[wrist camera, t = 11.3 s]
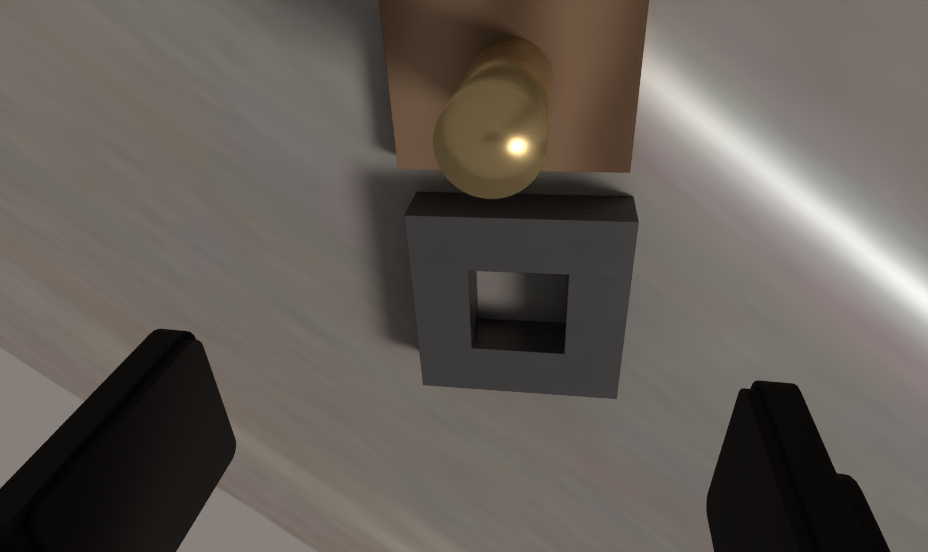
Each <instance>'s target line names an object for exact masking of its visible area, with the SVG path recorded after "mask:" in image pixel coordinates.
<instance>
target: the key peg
mask: <svg viewBox="0 0 928 552" xmlns="http://www.w3.org/2000/svg"><path fill="white" fill-rule="evenodd" d="M552 87H553V73H552V68H551V65H550V63H549V60H548V58H547V57H546V55H545V54H544V53H543V51H542V50H541V49H540V48H539V47H538V46H536V45H535V44H534V43H532V42H530V41H528V40H526V39H523V38H518V37H504V38H500V39H497V40H494V41H492V42H491V43H489V44H487V45H486V46H485V47H484V48H483V49H482V50H481V51H480V52H479V53H478V54H477V56H476V57H475V59H474V60H473V62H472V64H471V65H470V67H469V69H468V70H467V72H466V74H465V75H464V77H463V79H462V80H461V82H460V83H459V85H458V87H457V88H456V90H455V92H454V93H453V95H452V97H451V98H450V100H449V102H448V103H447V105H446V106H445V108H444V110H443V111H442V113H441V115H440V116H439V118H438V121H437V123H436V126H435V130H434V135H433V149H434V154H435V158H436V161H437V163H438V166H439V168H440V169H441V171H442V173H443V174H444V175H445V177H446V178H447V179H448V180H449V181H450V182H451V183H452V184H453V185H454V186H456V187H457V188H458V189H460V190H461V191H463V192H465V193H467V194H469V195H472V196H475V197H479V198H485V199H498V198H504V197H508V196H511V195H514V194H516V193H518V192H520V191H522V190H523V189H525V188H526V187H527V186H528V185H530V184H531V183H532V182H533V181H534V180H535V178H536V177H537V175H538V174H539V172H540V171H541V169H542V167H543V164H544V162H545V158H546V153H547V142H548V131H549V120H550V109H551V98H552Z"/></svg>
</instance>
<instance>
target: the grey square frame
mask: <svg viewBox="0 0 928 552" xmlns="http://www.w3.org/2000/svg"><path fill="white" fill-rule="evenodd" d="M404 218H405V227H406V236H407V245H408V254H409V263H410V272H411V281H412V290H413V299H414V308H415V317H416V326H417V335H418V344H419V352H420V361H421V370H422V379H423V385H430V386H444V387H458V388H472V389H485V390H499V391H513V392H527V393H541V394H555V395H569V396H583V397H596V398H610V399H617V391H618V383H619V375H620V367H621V359H622V351H623V343H624V335H625V327H626V319H627V311H628V303H629V295H630V287H631V279H632V271H633V263H634V255H635V247H636V239H637V231H638V223H639V221H638V217H637V212H636V207H635V202H634V197H626V196H579V195H532V194H514V195H511V196H508V197H504V198H498V199H485V198H479V197H475V196H472V195H469V194H467V193H438V192H416V194H415V196H414V198H413V200H412V202H411V204H410V206H409V208H408V209H407V211H406V213H405V215H404ZM476 271H494V272H518V273H542V274H567V275H568V280H567V298H566V316H565V323H550V322H532V321H513V320H495V319H478V302H477V278H476Z"/></svg>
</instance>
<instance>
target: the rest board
mask: <svg viewBox="0 0 928 552" xmlns="http://www.w3.org/2000/svg"><path fill="white" fill-rule="evenodd" d="M379 4H380V13H381V22H382V31H383V40H384V49H385V58H386V67H387V75H388V84H389V93H390V102H391V111H392V120H393V129H394V138H395V147H396V156H397V164H398V169H428V170H441V169H440V168H439V166H438V163H437V161H436V158H435V154H434V149H433V135H434V130H435V126H436V123H437V121H438V118H439V116H440V115H441V113H442V111H443V110H444V108H445V106H446V105H447V103H448V102H449V100H450V98H451V97H452V95H453V93H454V92H455V90H456V88H457V87H458V85H459V83H460V82H461V80H462V79H463V77H464V75H465V74H466V72H467V70H468V69H469V67H470V65H471V64H472V62H473V60H474V59H475V57H476V56H477V54H478V53H479V52H480V51H481V50H482V49H483V48H484V47H485V46H486V45H487V44H489V43H491V42H492V41H494V40H497V39H500V38H504V37H518V38H523V39H526V40H528V41H530V42H532V43H534V44H535V45H536V46H538V47H539V48H540V49H541V50H542V51H543V53H544V54H545V55H546V57H547V58H548V60H549V63H550V65H551V68H552V73H553V87H552V98H551V109H550V120H549V131H548V142H547V153H546V158H545V162H544V164H543V167H542V169H541V171H559V172H625V173H630V168H631V159H632V150H633V141H634V132H635V123H636V114H637V104H638V95H639V86H640V77H641V68H642V59H643V50H644V41H645V32H646V23H647V14H648V5H649V0H379Z"/></svg>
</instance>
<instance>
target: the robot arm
mask: <svg viewBox="0 0 928 552" xmlns="http://www.w3.org/2000/svg"><path fill="white" fill-rule="evenodd" d="M235 450H236V440H235V436H234V433H233V431H232V428H231V425H230V422H229V419H228V416H227V413H226V410H225V407H224V405H223V402H222V399H221V396H220V393H219V390H218V387H217V384H216V381H215V379H214V376H213V373H212V370H211V367H210V364H209V361H208V358H207V355H206V353H205V350H204V347H203V345H202V343H201V342H200V341H199V340H196V338H195V336H194V335H193V334H192V333H191V332H188V331H179V330H168V329H157V330H154V331H153V332H152V333H150V334H149V335H148V336H147V338H146V339H145V340H144V341H143V342H142V343H141V344H140V345H139V346H138V347H137V348H136V349H135V350H134V351H133V352H132V353H131V354H130V355H129V356H128V357H127V358H126V359H125V360H124V361H123V362H122V363H121V364H120V365H119V366H118V368H117V369H116V370H115V371H114V372H113V373H112V374H111V375H110V376H109V377H108V378H107V379H106V380H105V381H104V382H103V383H102V384H101V385H100V386H99V387H98V388H97V389H96V390H95V391H94V392H93V393H92V394H91V395H90V396H89V397H88V399H87V400H86V401H85V402H84V403H83V404H82V405H81V406H80V407H79V408H78V409H77V410H76V411H75V412H74V413H73V414H72V415H71V416H70V417H69V418H68V419H67V420H66V421H65V422H64V423H63V425H62V426H60V427H59V429H58V430H57V431H56V432H55V433H54V434H53V435H52V436H51V437H50V438H49V439H48V440H47V441H46V442H45V443H44V444H43V445H42V446H41V447H40V448H39V449H38V450H37V451H36V452H35V453H34V455H32V457H30V458H29V460H28V461H27V462H26V463H25V464H24V465H23V466H22V467H21V468H20V469H19V470H18V471H17V472H16V473H15V474H14V475H13V476H12V477H11V478H10V479H9V480H8V481H7V482H6V483H5V484H4V485H3V486H2V487H1V489H0V552H176V551H177V549H178V548H179V546H180V544H181V543H182V541H183V539H184V538H185V536H186V534H187V533H188V531H189V529H190V528H191V526H192V525H193V523H194V521H195V520H196V518H197V516H198V515H199V513H200V511H201V510H202V508H203V507H204V505H205V503H206V501H207V500H208V498H209V497H210V495H211V493H212V492H213V490H214V489H215V487H216V485H217V484H218V482H219V480H220V479H221V477H222V476H223V474H224V472H225V471H226V469H227V467H228V466H229V464H230V462H231V461H232V459H233V457H234V454H235ZM707 518H708V523H709V528H710V533H711V538H712V543H713V548H714V552H890V550H889V548H888V545H887V543H886V541H885V539H884V537H883V535H882V533H881V530H880V528H879V526H878V524H877V522H876V520H875V518H874V516H873V513H872V511H871V509H870V507H869V505H868V503H867V501H866V498H865V496H864V494H863V492H862V490H861V489H860V487H859V485H858V484H857V482H856V481H855V480H854V479H853V478H852V477H851V476H849V475H845V474H838V473H836V471H835V469H834V466H833V464H832V462H831V460H830V457H829V455H828V453H827V450H826V448H825V446H824V444H823V441H822V439H821V437H820V434H819V432H818V430H817V428H816V425H815V423H814V421H813V418H812V416H811V414H810V412H809V409H808V407H807V405H806V403H805V400H804V398H803V396H802V393H801V391H800V389H799V388H798V386H797V385H795V384H792V383H780V382H769V381H755V382H754V383H753V384H752V386H751V389H744V388H743V389H741V390H740V391H739V393H738V396H737V400H736V403H735V406H734V409H733V413H732V416H731V419H730V422H729V426H728V429H727V432H726V436H725V439H724V442H723V445H722V449H721V452H720V455H719V458H718V462H717V465H716V468H715V472H714V475H713V478H712V481H711V485H710V488H709V491H708V495H707Z"/></svg>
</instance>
